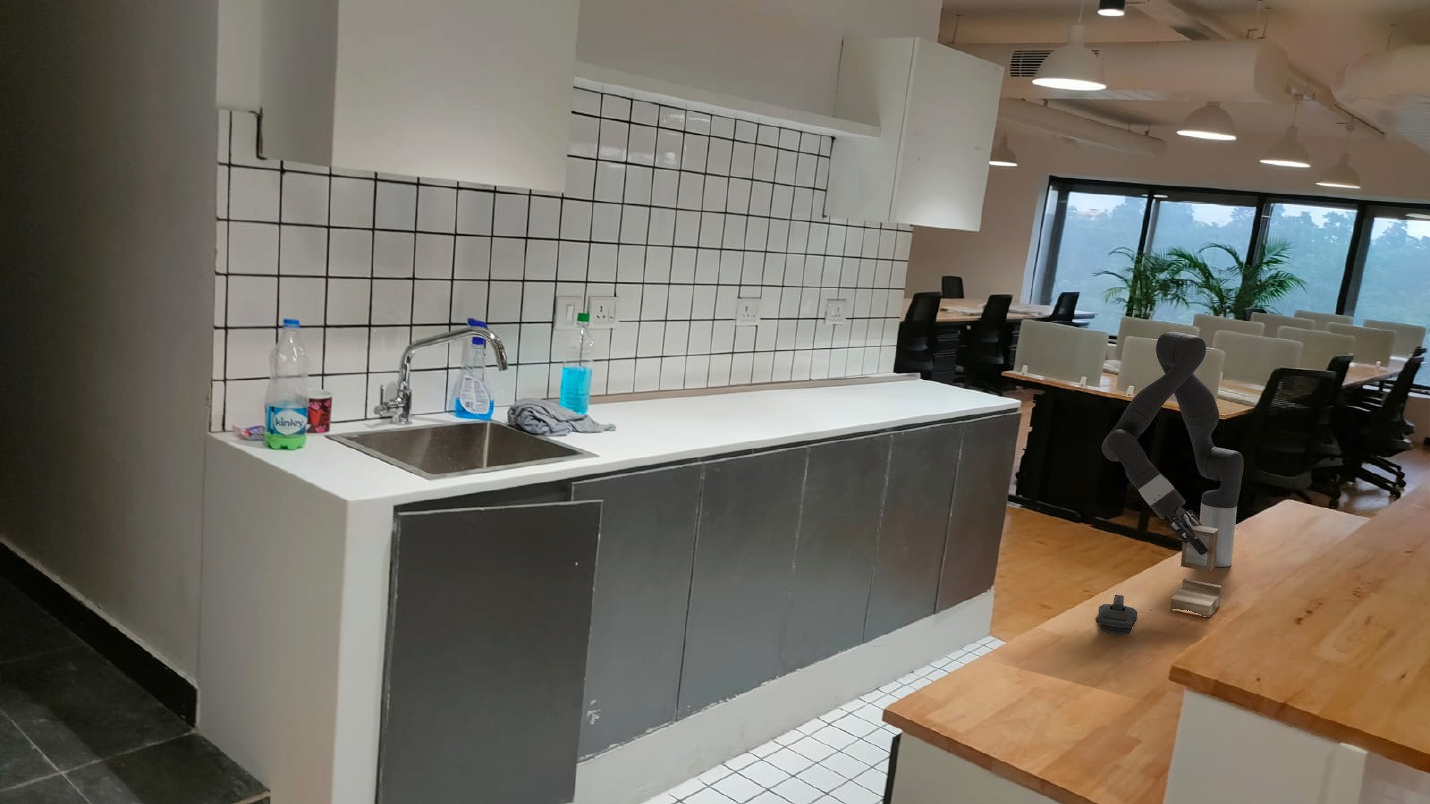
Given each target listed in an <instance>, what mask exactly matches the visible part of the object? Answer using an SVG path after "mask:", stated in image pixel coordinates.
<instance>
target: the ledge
mask: <svg viewBox="0 0 1430 804" xmlns="http://www.w3.org/2000/svg"><path fill="white" fill-rule="evenodd" d="M1222 587H1223V586H1222V585H1219V584H1212V583H1209V582H1203V581H1199V580H1198V581H1197V580H1193V579H1189V578H1183V579H1182V586H1181V588H1180V589H1179V590H1178V591H1177V592H1176V593H1175V594H1174V595H1173V596H1171V598H1170V609H1180V610H1187V611H1188V610H1189V611H1192V612H1194V613H1198V614H1201V615H1202V616H1206V617H1209V616H1210V615H1211V616H1212V615H1213V614H1214V613H1215V611H1216V610H1217V609H1218V607H1220V605H1221V598H1222V597H1221V596H1222ZM1170 609H1169V610H1170ZM1211 616H1210V617H1211ZM1210 617H1209V618H1210Z"/></svg>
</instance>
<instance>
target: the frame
mask: <svg viewBox="0 0 1430 804" xmlns="http://www.w3.org/2000/svg"><path fill="white" fill-rule="evenodd" d="M1193 527H1194V530H1193V532H1194V533H1195V534H1196V535H1197V537H1198V538H1199V539H1200V541H1201V542H1202V543H1203V544H1204V545H1205V546H1206V548H1207V549H1208V551H1207V552H1206V553H1205V554H1203V555H1200V554H1199V553H1198V552H1197V551H1196V549H1195V548H1194V547H1193V546H1192V545H1191V544H1189V543H1185V542H1184V541H1183V540H1182V545H1181V546H1182V547H1181V560H1180V567H1181V568H1185V569H1186V568H1187V569H1192V570H1196V571H1197V570H1198V571H1202V572H1208V573H1211V572H1212V571H1213V570H1214V569H1216V567H1215V565H1216V554H1217V543H1218V532H1219V529H1217V528H1211V527H1205V526H1199V525H1198V526H1195V525H1193ZM1186 529H1188V528H1186ZM1187 536H1188V535H1187Z"/></svg>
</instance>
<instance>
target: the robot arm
mask: <svg viewBox="0 0 1430 804" xmlns="http://www.w3.org/2000/svg"><path fill="white" fill-rule="evenodd" d="M1155 353H1156V357H1157V361H1158V363H1159V365H1160V367H1161V369H1162V370H1163V372H1164V374H1163V375H1162V376H1161V377H1160V378H1158V379H1156V380H1154V381H1153V382H1152V383H1149V385H1147V386H1146V387H1144V388H1142V389H1141V390H1140V391H1139V392H1138V393H1136V395H1134V397H1133V398H1132V400H1131V401H1130V402H1129V404H1128V405H1127V407H1126V408H1125V410H1124V412H1123V413H1122V414H1121V417H1120V419H1119V420H1118V421H1117V423H1116V424H1115V426H1114V427H1112V429H1111V431H1109V433H1108V434H1107V436H1106V437H1105V439H1104V440H1103V441H1102V445H1101V451H1102V454H1103V456H1104V457H1105V458H1106V459H1108V460H1109V461H1112V462H1119V463H1121V465H1122V466H1123V468H1124V469H1125V476H1126V477H1127V479H1128V480H1129V482H1130V483H1131V484H1132V485H1133V486H1134V487H1135V489H1136V490H1137V491H1138V492H1139V494H1140V495H1141V497H1142V498H1143V500H1144V501H1145V502H1146V503H1147V504H1148V506H1149V507H1150V508H1151V509H1152V510H1153V512H1154V513H1155V514H1156V515H1157V516H1158V517H1159V519H1161V520H1163V519H1165V518H1168V519H1169V521H1170V522H1171V523H1170V524H1169V525H1168V527H1169V528H1170V530H1172V531H1173V533H1175V534H1176V536H1178V537H1179V539H1180V540H1181V541H1182V542H1183V541H1184V542H1185V543H1189V544H1191V545H1192V546H1193V547H1194V548H1195V549H1196V551H1197V552H1198V553H1199V554H1200V555H1203V554H1205V553H1206V552H1207V551H1208V549H1207V548H1206V546H1205V545H1204V544H1203V543H1202V542H1201V541H1200V539H1199V538H1198V537H1197V535H1196V534H1195V533H1194V532H1193V530H1194V527H1193V525H1195V526H1198V525H1199V526H1205V527H1211V528H1217V529H1219V532H1218V543H1217V554H1216V565H1215V568H1216V567H1217V568H1219V567H1220V568H1225V567H1226V568H1227V567H1231V566H1232V565H1233V564H1232V563H1233V554H1234V544H1235V534H1236V521H1237V519H1236V518H1237V510H1238V509H1237V508H1238V501H1239V497H1240V495H1241V494H1240V492H1241V485H1242V480H1243V474H1244V465H1245V463H1244V457H1243V455H1242V453H1241V452H1240V451H1236V450H1234V449H1233V450H1231V449H1227V448H1222V447H1217V446H1215V444H1214V442H1213V439H1212V434H1213V433H1214V430H1215V429H1216V427H1217V425H1218V423H1219V420H1220V411H1219V407H1218V405H1217V402H1216V398H1215V396H1214V394H1213V393H1212V391H1211V390H1210V388H1209V387H1208V386H1207V385H1206V384H1205V383H1204V382H1203V381H1202V380H1201V379H1200V378H1198V376H1197V375H1195V373H1194V372H1195V371H1197V369H1199V367H1200V365H1201V364H1202V362H1203V361H1204V359H1205V356H1206V353H1207V344H1206V342H1205V340H1204V339H1203V338H1202V337H1200V336H1199V335H1198V336H1197V335H1194V334H1189V333H1184V332H1183V333H1182V332H1177V331H1165V332H1163V333H1162V334H1160V336H1159V337H1158V339H1157V341H1156V345H1155ZM1172 395H1174V397H1175V400H1176V402H1177V405H1178V408H1179V411H1180V414H1181V416H1182V419H1183V422H1184V424H1185V426H1186V429H1187V432H1188V435H1189V437H1190V441H1191V444H1192V449H1193V454H1194V458H1195V459H1194V460H1195V463H1196V467H1197V470H1198V472H1199V474H1200V475H1201V476H1202V477H1204V478H1205V479H1209V480H1213V481H1217V482H1218V481H1219V482H1220V485H1219V488H1218V489H1213V490H1207V491H1204V492H1203V493H1202V495H1201V500H1200V514H1199V519H1198V517H1197V516H1196V514H1195V513H1194V512H1193V510H1192V509H1189V510H1186V509H1185V508H1183V507H1182V506H1183V505H1185V504H1186V500H1185V498H1184V497H1183V496H1182V494H1180V493H1179V491H1178V490H1177V489H1176V488H1175V487H1174V486H1173V484H1172V483H1171V482H1170V481H1169V480H1168V479H1167V478H1166V477H1165V476H1164V475H1163V474H1162V473H1161V472H1160V471H1159V470H1158V469H1157V468H1156V466H1155V465H1154V464H1153V462H1152V461H1150V460H1149V457H1148V456H1147V454H1146V452H1145V450H1143V447H1142V446H1141V444H1140V443H1139V441H1138V440H1139V438H1140V436H1142V434H1143V433H1144V432H1145V431H1146V430H1147V428H1148V427H1150V424H1151V423H1152V421H1153V420H1154V418H1155V417H1156V416H1157V414H1158V413H1159V411H1160V410H1161V408H1162V407H1163V406H1164V404H1166V402H1167V401H1168V400H1169V399H1170V398H1171V396H1172ZM1186 528H1188V529H1186ZM1187 535H1188V536H1187Z"/></svg>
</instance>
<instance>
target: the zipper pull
mask: <svg viewBox="0 0 1430 804" xmlns="http://www.w3.org/2000/svg"><path fill="white" fill-rule="evenodd" d="M1124 600H1125V596H1124V595H1121V594H1114V597H1113V603H1104V604H1101V605H1099V606H1098V614H1097V615H1098V616H1096V618H1095V623H1097V624H1099V630H1101V631H1104V632H1107V633H1108V634H1109V633H1110V634H1117V635H1127V634H1128V635H1129V634H1131V633H1132V631H1131V630H1133V629H1132V627H1133V626H1135V625H1136V623H1135V622H1137V621H1138V613H1139V612H1138V611H1137V610H1136V609H1135V608H1134V607H1131V606H1127V605H1125V604H1124V602H1125V601H1124ZM1136 620H1137V621H1136ZM1134 624H1135V625H1134ZM1133 628H1134V627H1133ZM1130 632H1131V633H1130Z"/></svg>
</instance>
